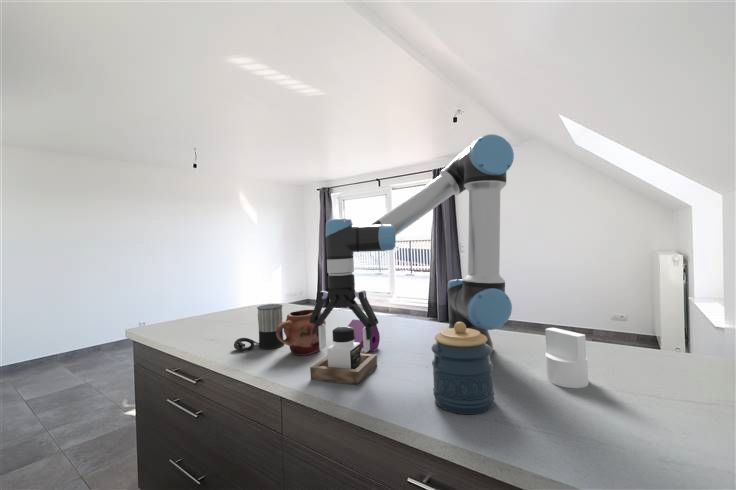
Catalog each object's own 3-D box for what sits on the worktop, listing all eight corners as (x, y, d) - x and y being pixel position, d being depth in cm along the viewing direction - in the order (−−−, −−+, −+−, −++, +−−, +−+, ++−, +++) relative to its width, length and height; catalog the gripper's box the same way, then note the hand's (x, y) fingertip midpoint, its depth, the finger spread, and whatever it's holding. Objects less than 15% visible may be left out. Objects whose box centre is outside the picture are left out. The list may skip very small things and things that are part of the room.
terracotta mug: (292, 365, 104) (290, 319, 104) (266, 358, 111) (265, 316, 111) (335, 347, 121) (333, 308, 121) (310, 342, 128) (308, 305, 128)
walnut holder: (377, 366, 100) (376, 354, 100) (358, 385, 87) (358, 371, 87) (334, 362, 105) (333, 351, 105) (310, 379, 92) (310, 367, 92)
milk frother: (289, 344, 127) (288, 304, 127) (254, 356, 114) (252, 312, 114) (264, 339, 135) (262, 302, 135) (228, 351, 122) (227, 309, 122)
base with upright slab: (538, 377, 87) (535, 330, 87) (562, 371, 90) (560, 325, 90) (571, 391, 78) (569, 338, 78) (597, 383, 82) (594, 333, 82)
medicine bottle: (351, 376, 92) (349, 331, 92) (327, 373, 94) (325, 330, 94) (361, 367, 98) (359, 325, 98) (338, 365, 101) (337, 324, 101)
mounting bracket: (356, 380, 106) (381, 341, 119) (349, 359, 103) (375, 321, 116) (332, 374, 111) (359, 338, 124) (324, 354, 108) (352, 319, 121)
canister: (490, 390, 81) (487, 315, 81) (498, 418, 68) (494, 329, 68) (434, 387, 84) (431, 315, 84) (432, 413, 71) (428, 328, 71)
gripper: (387, 272, 95) (390, 348, 95) (309, 273, 104) (312, 342, 104) (378, 274, 88) (382, 357, 88) (295, 275, 97) (298, 350, 97)
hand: (344, 349), depth 96 cm, fingers open, 13 cm apart
